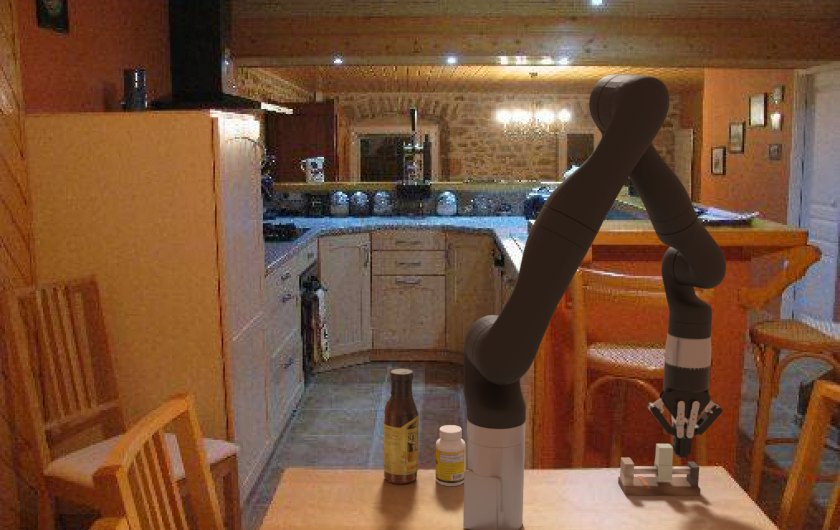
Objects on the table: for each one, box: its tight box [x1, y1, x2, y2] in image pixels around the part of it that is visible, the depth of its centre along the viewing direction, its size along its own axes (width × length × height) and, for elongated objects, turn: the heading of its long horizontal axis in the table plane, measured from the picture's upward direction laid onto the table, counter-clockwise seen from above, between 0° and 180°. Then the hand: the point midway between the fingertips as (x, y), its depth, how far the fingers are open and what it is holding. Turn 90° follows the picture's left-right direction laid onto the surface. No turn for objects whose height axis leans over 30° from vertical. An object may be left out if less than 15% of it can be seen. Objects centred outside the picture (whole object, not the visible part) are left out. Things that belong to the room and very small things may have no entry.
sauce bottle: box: [383, 368, 420, 485], centre depth 146 cm, size 6×6×20 cm
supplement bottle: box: [435, 424, 466, 487], centre depth 146 cm, size 5×5×10 cm
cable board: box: [617, 457, 701, 496], centre depth 144 cm, size 13×5×5 cm, turn 90°
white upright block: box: [653, 443, 674, 480], centre depth 143 cm, size 2×3×6 cm
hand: (681, 456), depth 143 cm, fingers closed
